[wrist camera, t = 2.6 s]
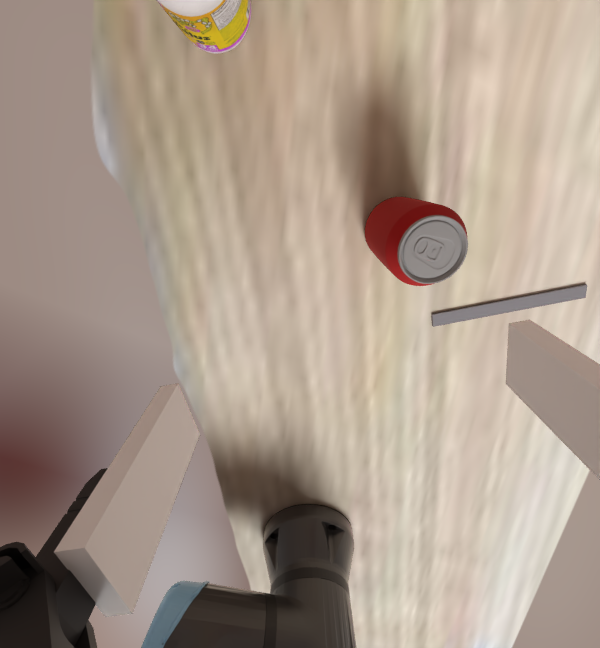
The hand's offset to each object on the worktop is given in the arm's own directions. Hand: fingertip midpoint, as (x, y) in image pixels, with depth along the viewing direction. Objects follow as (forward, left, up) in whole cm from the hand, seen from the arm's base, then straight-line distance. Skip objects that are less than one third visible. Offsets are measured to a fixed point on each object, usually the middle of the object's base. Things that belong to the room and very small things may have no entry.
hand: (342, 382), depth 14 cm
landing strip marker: (+21, -12, -27) cm, 36 cm away
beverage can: (+9, 0, -27) cm, 29 cm away
